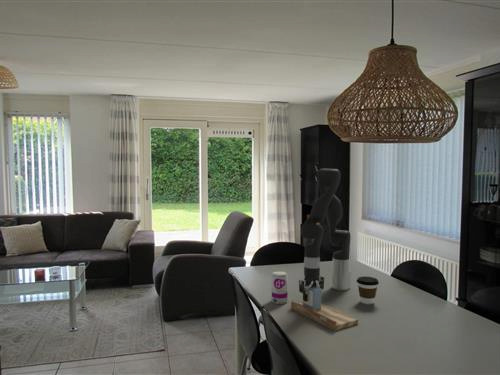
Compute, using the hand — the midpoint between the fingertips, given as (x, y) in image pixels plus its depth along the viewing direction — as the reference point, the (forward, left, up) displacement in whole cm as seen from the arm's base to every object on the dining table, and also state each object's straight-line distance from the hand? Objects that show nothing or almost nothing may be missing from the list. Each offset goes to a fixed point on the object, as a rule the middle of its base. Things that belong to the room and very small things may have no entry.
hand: (311, 299), depth 189 cm
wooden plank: (-1, +7, -6) cm, 9 cm away
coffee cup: (-33, +5, -6) cm, 34 cm away
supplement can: (+5, -19, -6) cm, 21 cm away
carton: (0, 0, -4) cm, 4 cm away
